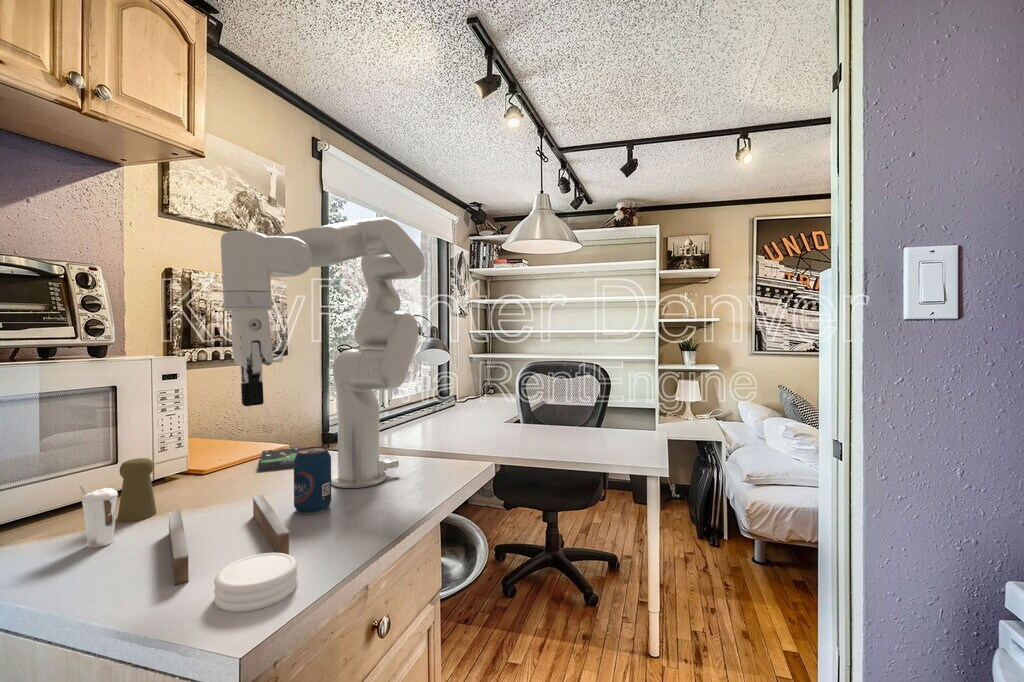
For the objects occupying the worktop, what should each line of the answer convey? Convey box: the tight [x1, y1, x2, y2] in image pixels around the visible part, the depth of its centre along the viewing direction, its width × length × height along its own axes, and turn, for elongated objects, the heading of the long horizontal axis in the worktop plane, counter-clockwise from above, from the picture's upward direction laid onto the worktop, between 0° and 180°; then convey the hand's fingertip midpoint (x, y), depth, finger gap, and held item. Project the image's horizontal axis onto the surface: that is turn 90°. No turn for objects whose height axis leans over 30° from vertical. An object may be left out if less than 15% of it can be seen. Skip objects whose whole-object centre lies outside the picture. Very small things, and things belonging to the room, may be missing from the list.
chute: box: [168, 494, 290, 586], centre depth 80 cm, size 15×22×4 cm
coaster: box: [213, 552, 299, 613], centre depth 65 cm, size 10×10×4 cm
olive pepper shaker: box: [116, 457, 158, 523], centre depth 92 cm, size 6×6×11 cm
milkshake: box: [79, 484, 119, 549], centre depth 80 cm, size 4×5×10 cm
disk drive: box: [258, 447, 302, 472], centre depth 132 cm, size 10×3×15 cm
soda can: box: [293, 446, 332, 515], centre depth 96 cm, size 7×7×12 cm
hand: (252, 404), depth 86 cm, fingers closed
